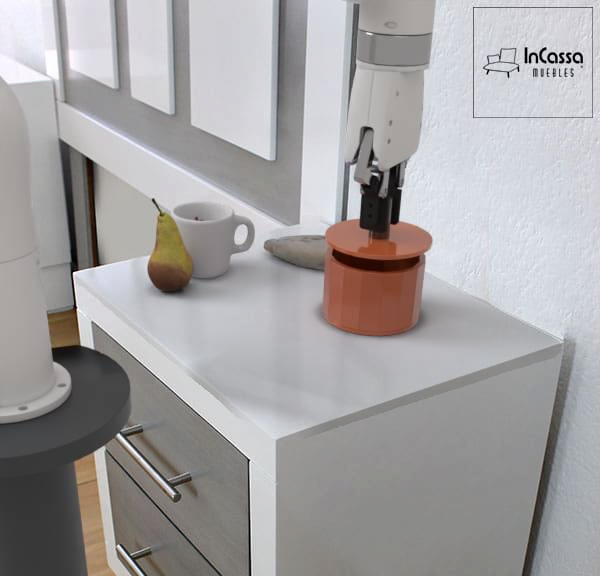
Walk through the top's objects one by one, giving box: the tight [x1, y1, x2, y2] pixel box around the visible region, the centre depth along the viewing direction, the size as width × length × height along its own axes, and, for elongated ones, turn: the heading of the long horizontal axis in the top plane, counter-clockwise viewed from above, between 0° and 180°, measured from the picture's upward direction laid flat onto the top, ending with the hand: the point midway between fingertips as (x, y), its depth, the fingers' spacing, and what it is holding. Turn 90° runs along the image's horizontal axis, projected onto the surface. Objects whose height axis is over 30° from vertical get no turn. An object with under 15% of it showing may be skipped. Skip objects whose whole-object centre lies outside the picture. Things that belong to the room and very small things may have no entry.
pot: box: [322, 246, 427, 337], centre depth 105 cm, size 11×11×8 cm
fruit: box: [146, 197, 194, 292], centre depth 108 cm, size 6×6×12 cm
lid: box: [324, 194, 434, 260], centre depth 101 cm, size 12×12×6 cm
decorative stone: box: [263, 234, 329, 271], centre depth 120 cm, size 6×16×3 cm, turn 73°
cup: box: [170, 201, 256, 279], centre depth 115 cm, size 11×8×8 cm
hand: (379, 224), depth 101 cm, fingers closed on lid, 2 cm apart
